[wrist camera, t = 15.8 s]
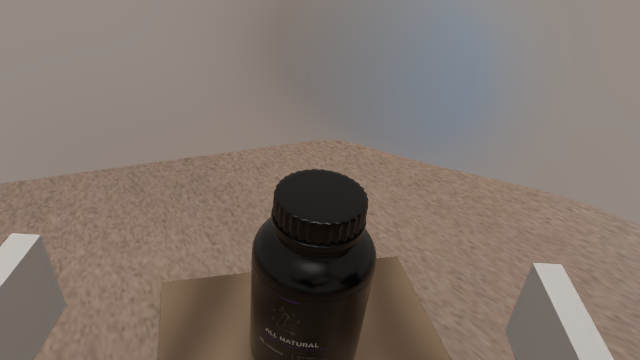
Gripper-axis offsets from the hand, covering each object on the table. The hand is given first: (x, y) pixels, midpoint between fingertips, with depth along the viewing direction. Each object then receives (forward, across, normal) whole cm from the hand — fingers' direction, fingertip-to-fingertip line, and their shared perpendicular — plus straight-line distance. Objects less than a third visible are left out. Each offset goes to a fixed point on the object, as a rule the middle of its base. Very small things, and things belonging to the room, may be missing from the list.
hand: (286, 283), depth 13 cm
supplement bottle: (+10, 0, -16) cm, 19 cm away
